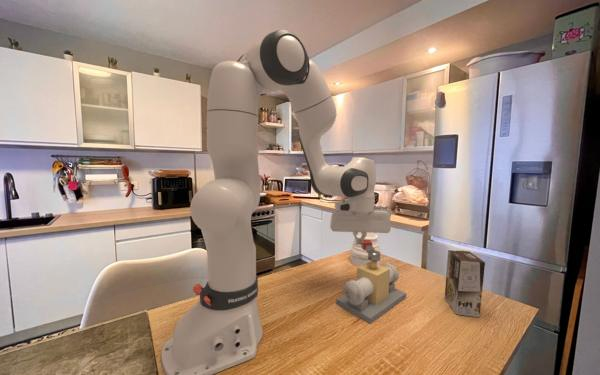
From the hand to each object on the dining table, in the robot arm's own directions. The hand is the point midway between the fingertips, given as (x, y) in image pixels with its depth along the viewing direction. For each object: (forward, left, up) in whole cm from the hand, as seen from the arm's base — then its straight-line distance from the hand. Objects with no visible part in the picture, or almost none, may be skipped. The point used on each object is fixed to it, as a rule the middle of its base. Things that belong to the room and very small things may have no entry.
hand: (359, 244), depth 84 cm
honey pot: (+19, +10, -15) cm, 26 cm away
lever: (-1, -5, -1) cm, 6 cm away
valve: (-5, -9, -15) cm, 18 cm away
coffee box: (+13, -28, -15) cm, 34 cm away
